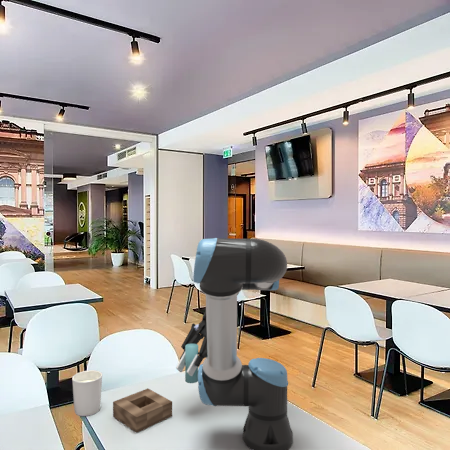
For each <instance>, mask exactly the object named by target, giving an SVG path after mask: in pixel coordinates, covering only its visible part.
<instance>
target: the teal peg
mask: <svg viewBox="0 0 450 450" xmlns="http://www.w3.org/2000/svg"><path fill="white" fill-rule="evenodd" d="M198 352H199V343H198V344H187V345H185V367H184V369H185V372H184V374H185V375H184V377H185V378H184V379H185V382H186V383H187V384H196V383H198V370H199V367H197V368H196V370H195V372H194V374H193V376H190V375H189V374H188V373H187V370H188V368H189V366H190V365H191V363H192V361H193V359H194V357H195V355H196V354H197V355H199V354H198Z"/></svg>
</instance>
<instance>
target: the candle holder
mask: <svg viewBox="0 0 450 450" xmlns="http://www.w3.org/2000/svg"><path fill="white" fill-rule="evenodd" d="M71 378H72V379H71V380H72V394H73V395H72V396H73V408H74V413H75V415H76V416H79V417H88V416H89V417H90V416H93V415H95V414H97V413H98V412H99V411H100V409H101V404H102V403H101V399H102V398H101V397H102V383H103V372H101V371H98V370H84V371H81V372H77V373H75V374H74V375H73V376H72V377H71Z"/></svg>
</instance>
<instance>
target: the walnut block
mask: <svg viewBox="0 0 450 450" xmlns="http://www.w3.org/2000/svg"><path fill="white" fill-rule="evenodd" d="M112 417H114V419H116V420H118V421H119V422H121V423H122V424H123V425H125V426H126V427H127V428H128V429H129V430H131V431H133V432H134V433H136V434H137V433H139V432H142V431H145V430H146V429H149V428H150V427H153V426H154V425H157V424H159V423H161V422H163V421H165V420H167V419H170V418H171V417H173V401H172V400H171V399H168V398H166V397H165V396H163V395H162V394H159V393H157V392H156V391H153V390H151V389H150V388H145V389H143V390H140V391H137V392H135V393H132V394H129V395H127V396H125V397H122V398H120V399H117V400H114V401H113V402H112Z"/></svg>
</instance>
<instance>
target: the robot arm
mask: <svg viewBox="0 0 450 450" xmlns="http://www.w3.org/2000/svg"><path fill="white" fill-rule="evenodd" d="M196 247H197V248H196V253H195V259H194V267H193V274H192V275H193V276H192V278H193V282H194V283H195V284H199V289H200V291H201V293H203V294H204V295H205V312H204V313H203V315H202V319H201V321H200V322H199V323H197V324H195V323H192V324H191V326H190V330H189V332H188V333H187V335H186V337H185V338H184V340H183V343H182V344H181V345H180V346H181V348H182V350H183V352H182V354H181V356H180V357H179V361H178V363H177V364H176V367H175V369H176V370H177V371H178V372H179V373H182V372H183V370H184V369H185V345H187V344H198V345H199V342H200V341H201V340H202V342H201V346H200V349H199V350H198V355H197V354H196V355H195V357H194V359H193V361H192V363H191V365H190V366H189V368H188V370H187V373H188V374H189V375H190V376H193V374H194V372H195V370H196V368H197V367H198V382H197V384H198V385H197V386H198V395H199V398H200V401H201V403H202V404H204V405H206V406H212V407H248V414H247V416H246V418H245V422H244V425H243V429H242V441H243V444H244V445H245V446H247V448H249V449H251V450H289V449H290V448H291V447H292V446H293V443H294V441H293V440H294V438H293V437H294V433H293V430H292V427H291V424H290V421H289V416H288V386H289V380H288V371H287V369H286V367H285V366H284V365H283V364H282V363H280V362H278V361H276V360H274V359H270V358H264V357H256V358H251V359H250V360H249V361H248V364H243V363H242V361H241V359H240V358H239V356H238V354H237V353H238V348H237V347H238V296H239V294H240V293H241V291H243V290H244V291H246V290H247V291H252V290H253V291H277V290H278V289H279V287H280V280H281V279H282V278H283V277H284V275H285V274H286V272H287V270H288V260H287V257H286V255H285V253H284V252H283V251H282V250H281V249H280V248H279V247H278V246H276V245H275V244H273V243H271V242H269V241H268V240H264V239H260V238H224V237H223V238H217V237H214V238H202V239H200V240H199V242H198V243H197V246H196ZM202 362H203V363H202ZM288 448H289V449H288Z"/></svg>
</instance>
